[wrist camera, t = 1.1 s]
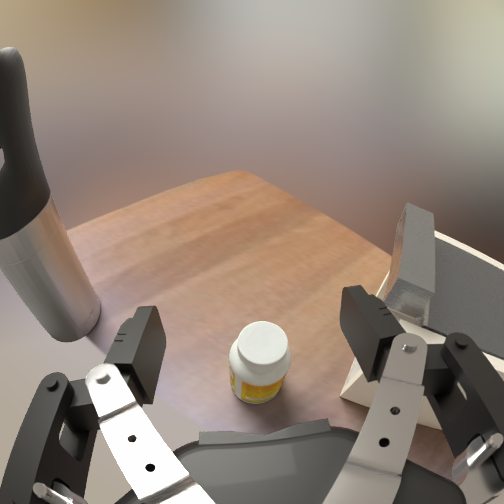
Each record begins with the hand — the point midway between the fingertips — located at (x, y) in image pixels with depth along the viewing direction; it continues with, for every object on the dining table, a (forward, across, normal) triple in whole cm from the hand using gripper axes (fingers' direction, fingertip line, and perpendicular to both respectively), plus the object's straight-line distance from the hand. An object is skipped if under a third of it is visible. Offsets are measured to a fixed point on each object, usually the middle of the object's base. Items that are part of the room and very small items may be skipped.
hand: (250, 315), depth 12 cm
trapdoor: (+6, -19, +6) cm, 21 cm away
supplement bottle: (+10, 0, +17) cm, 20 cm away
